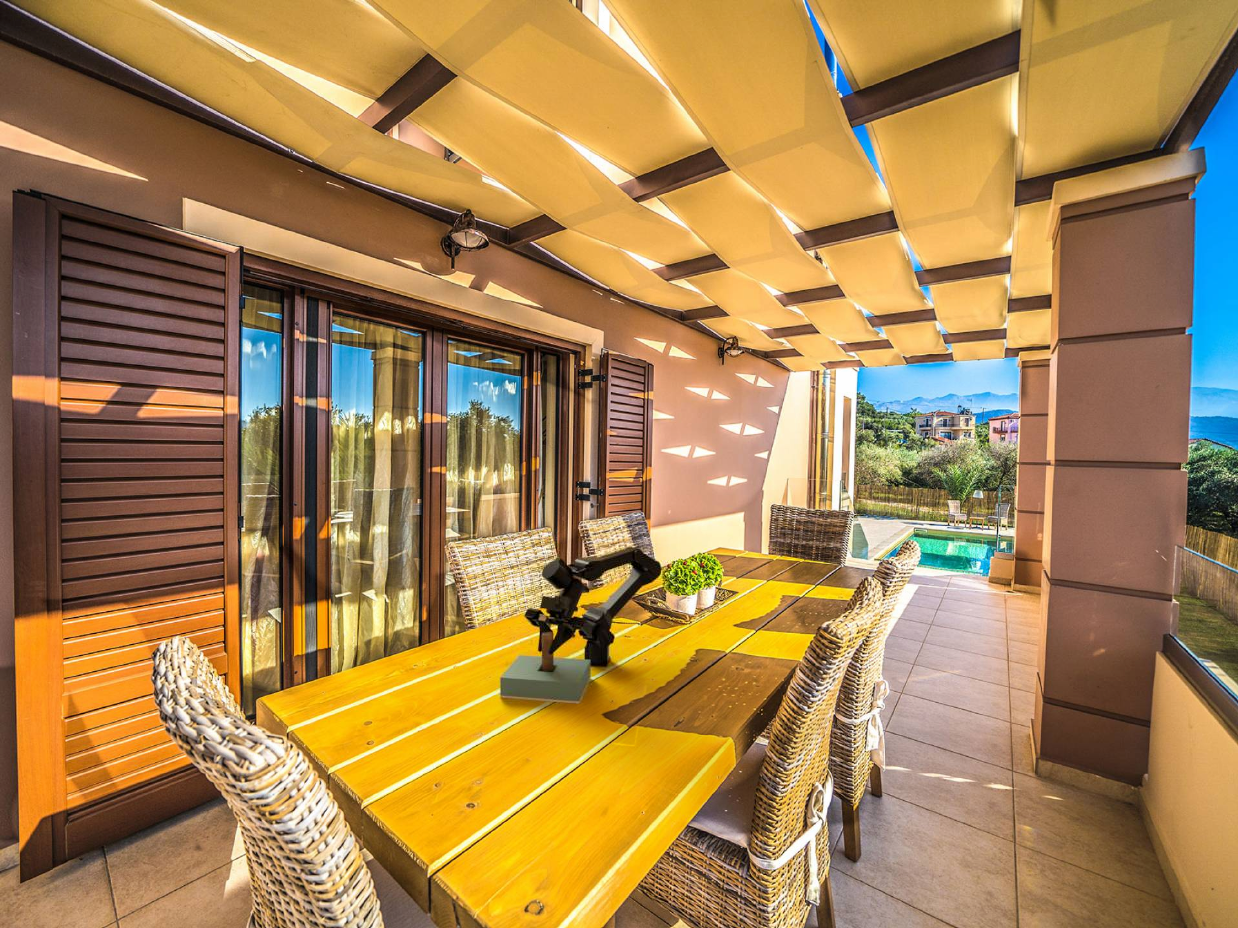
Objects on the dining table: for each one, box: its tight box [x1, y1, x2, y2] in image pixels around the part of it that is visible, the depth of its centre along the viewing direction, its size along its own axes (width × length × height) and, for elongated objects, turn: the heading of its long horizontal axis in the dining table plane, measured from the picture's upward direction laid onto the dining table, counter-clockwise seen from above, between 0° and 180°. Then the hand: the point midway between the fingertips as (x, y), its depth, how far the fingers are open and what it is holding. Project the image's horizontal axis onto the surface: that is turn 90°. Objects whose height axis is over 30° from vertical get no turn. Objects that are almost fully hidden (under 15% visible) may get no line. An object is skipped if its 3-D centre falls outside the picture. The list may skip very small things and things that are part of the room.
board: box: [499, 654, 592, 705], centre depth 131 cm, size 20×14×5 cm
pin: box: [541, 631, 555, 672], centre depth 131 cm, size 3×3×11 cm
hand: (544, 652), depth 129 cm, fingers closed on pin, 3 cm apart
